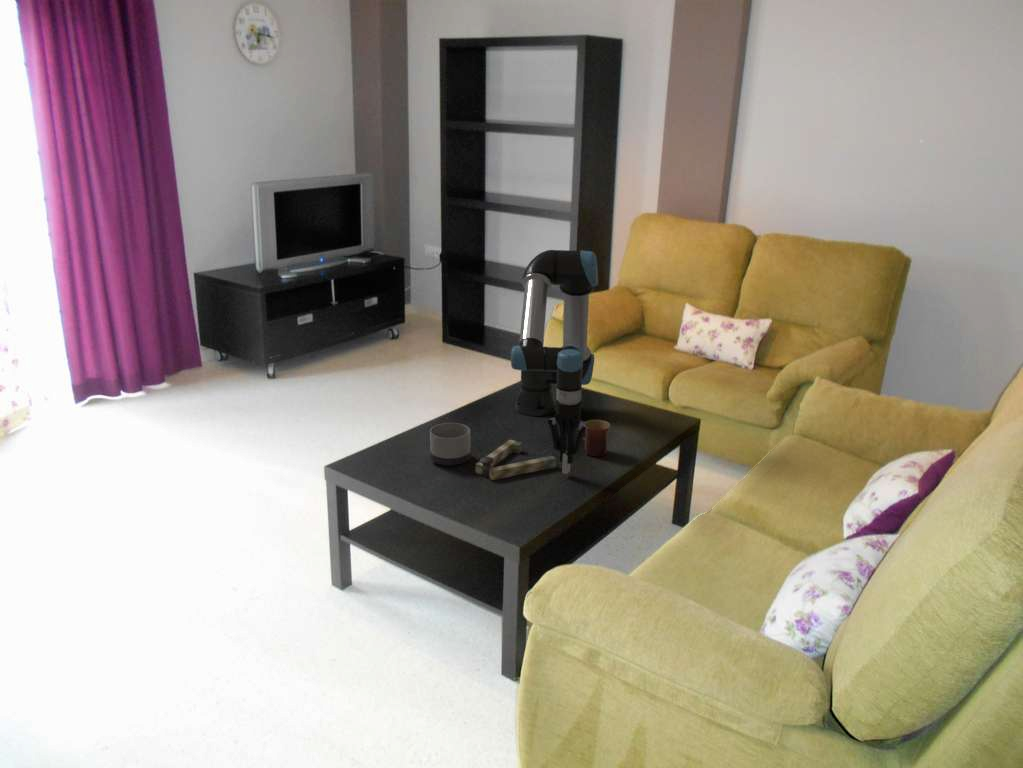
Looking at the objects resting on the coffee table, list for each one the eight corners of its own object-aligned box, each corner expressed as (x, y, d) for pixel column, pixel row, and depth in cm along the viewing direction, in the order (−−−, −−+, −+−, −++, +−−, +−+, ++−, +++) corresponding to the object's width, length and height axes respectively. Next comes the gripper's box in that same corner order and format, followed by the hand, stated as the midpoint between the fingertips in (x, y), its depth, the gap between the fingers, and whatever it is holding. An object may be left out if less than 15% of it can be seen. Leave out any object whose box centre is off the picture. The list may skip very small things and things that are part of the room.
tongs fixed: (489, 479, 257) (489, 463, 255) (472, 475, 260) (472, 458, 258) (525, 451, 277) (526, 436, 275) (509, 447, 280) (509, 432, 278)
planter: (424, 465, 267) (423, 434, 263) (440, 449, 278) (440, 420, 275) (460, 471, 263) (460, 440, 259) (476, 455, 274) (476, 426, 271)
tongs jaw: (492, 480, 256) (492, 471, 255) (489, 477, 258) (488, 468, 257) (555, 467, 265) (555, 458, 264) (551, 464, 268) (551, 455, 266)
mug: (614, 453, 277) (615, 424, 273) (598, 461, 271) (599, 432, 267) (585, 442, 284) (586, 414, 281) (569, 450, 278) (570, 422, 275)
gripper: (543, 400, 251) (542, 471, 259) (583, 408, 245) (580, 481, 253) (554, 393, 258) (552, 462, 266) (593, 401, 252) (590, 471, 260)
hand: (566, 471), depth 260 cm, fingers closed
